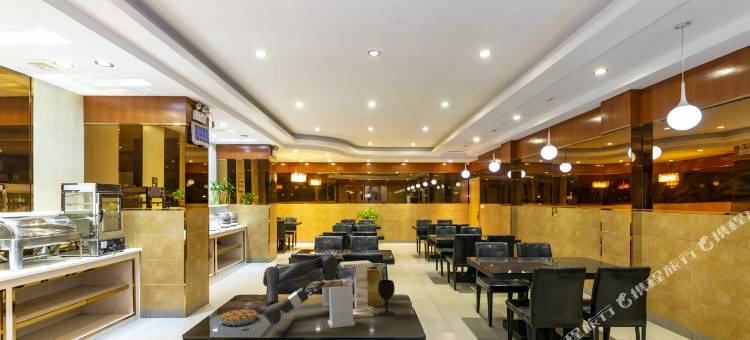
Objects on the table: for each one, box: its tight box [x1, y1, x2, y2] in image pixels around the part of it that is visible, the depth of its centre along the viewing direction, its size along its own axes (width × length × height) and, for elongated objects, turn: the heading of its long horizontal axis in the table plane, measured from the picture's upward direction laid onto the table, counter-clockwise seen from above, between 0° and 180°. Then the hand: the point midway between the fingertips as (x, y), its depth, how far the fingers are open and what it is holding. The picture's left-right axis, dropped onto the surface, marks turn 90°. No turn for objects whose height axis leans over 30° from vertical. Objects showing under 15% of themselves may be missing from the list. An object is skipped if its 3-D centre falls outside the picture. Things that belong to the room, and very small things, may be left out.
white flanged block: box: [327, 285, 356, 329], centre depth 239 cm, size 10×14×22 cm
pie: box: [219, 308, 259, 327], centre depth 249 cm, size 22×22×5 cm
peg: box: [312, 278, 353, 289], centre depth 239 cm, size 22×6×3 cm, turn 107°
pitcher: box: [367, 265, 385, 307], centre depth 282 cm, size 17×19×25 cm
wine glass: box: [378, 279, 396, 317], centre depth 258 cm, size 10×10×20 cm
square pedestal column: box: [339, 259, 374, 319], centre depth 258 cm, size 12×18×32 cm, turn 107°
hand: (322, 280), depth 237 cm, fingers open, 8 cm apart
